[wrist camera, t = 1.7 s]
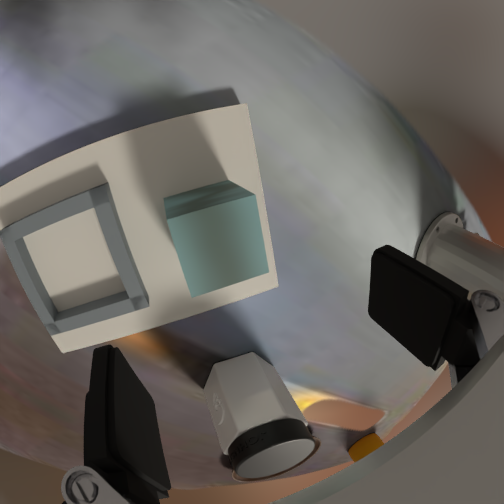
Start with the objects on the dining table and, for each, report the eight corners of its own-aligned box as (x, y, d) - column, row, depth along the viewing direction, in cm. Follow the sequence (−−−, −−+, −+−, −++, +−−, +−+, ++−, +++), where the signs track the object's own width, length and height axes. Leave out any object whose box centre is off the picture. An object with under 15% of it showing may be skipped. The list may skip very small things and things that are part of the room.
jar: (217, 347, 28) (255, 442, 18) (282, 352, 32) (333, 429, 21) (196, 400, 30) (222, 484, 20) (255, 401, 34) (290, 473, 23)
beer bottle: (369, 443, 61) (421, 509, 36) (343, 456, 58) (394, 528, 33) (380, 427, 57) (438, 498, 32) (352, 442, 55) (410, 520, 29)
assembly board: (240, 105, 20) (253, 100, 17) (272, 279, 27) (285, 294, 24) (-5, 191, 15) (-23, 199, 13) (65, 343, 22) (59, 363, 20)
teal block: (228, 179, 21) (255, 194, 15) (241, 240, 23) (269, 272, 18) (163, 198, 20) (166, 219, 14) (181, 258, 22) (191, 297, 16)
